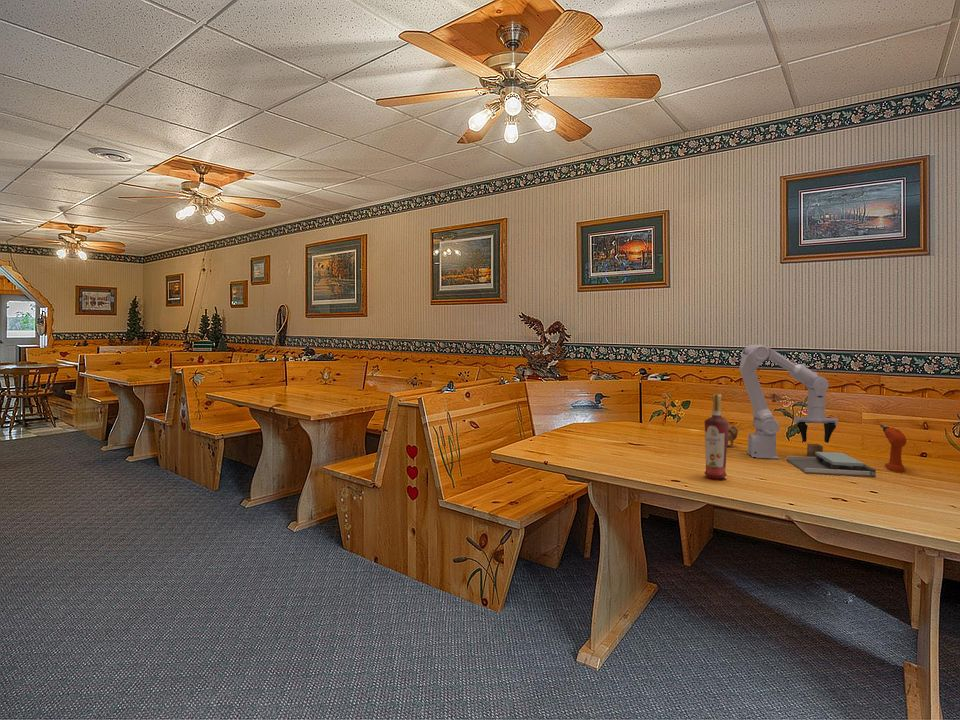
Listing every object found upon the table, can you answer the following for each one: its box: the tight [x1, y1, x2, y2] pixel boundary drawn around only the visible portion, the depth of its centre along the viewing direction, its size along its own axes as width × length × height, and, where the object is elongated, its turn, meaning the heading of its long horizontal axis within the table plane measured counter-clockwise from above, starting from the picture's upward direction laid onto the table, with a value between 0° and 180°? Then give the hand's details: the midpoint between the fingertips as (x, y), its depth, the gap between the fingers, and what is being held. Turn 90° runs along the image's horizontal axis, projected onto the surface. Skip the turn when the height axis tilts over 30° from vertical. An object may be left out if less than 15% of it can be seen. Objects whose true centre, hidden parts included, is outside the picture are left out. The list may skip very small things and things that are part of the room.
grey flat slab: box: [815, 451, 864, 471], centre depth 186 cm, size 9×16×3 cm, turn 166°
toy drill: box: [879, 424, 907, 473], centre depth 189 cm, size 5×19×15 cm, turn 161°
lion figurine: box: [727, 425, 739, 448], centre depth 221 cm, size 15×5×9 cm, turn 112°
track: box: [786, 455, 877, 478], centre depth 186 cm, size 21×19×2 cm
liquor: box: [703, 393, 730, 480], centre depth 174 cm, size 7×7×28 cm
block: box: [806, 443, 824, 457], centre depth 203 cm, size 4×4×5 cm
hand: (815, 441), depth 202 cm, fingers open, 7 cm apart
